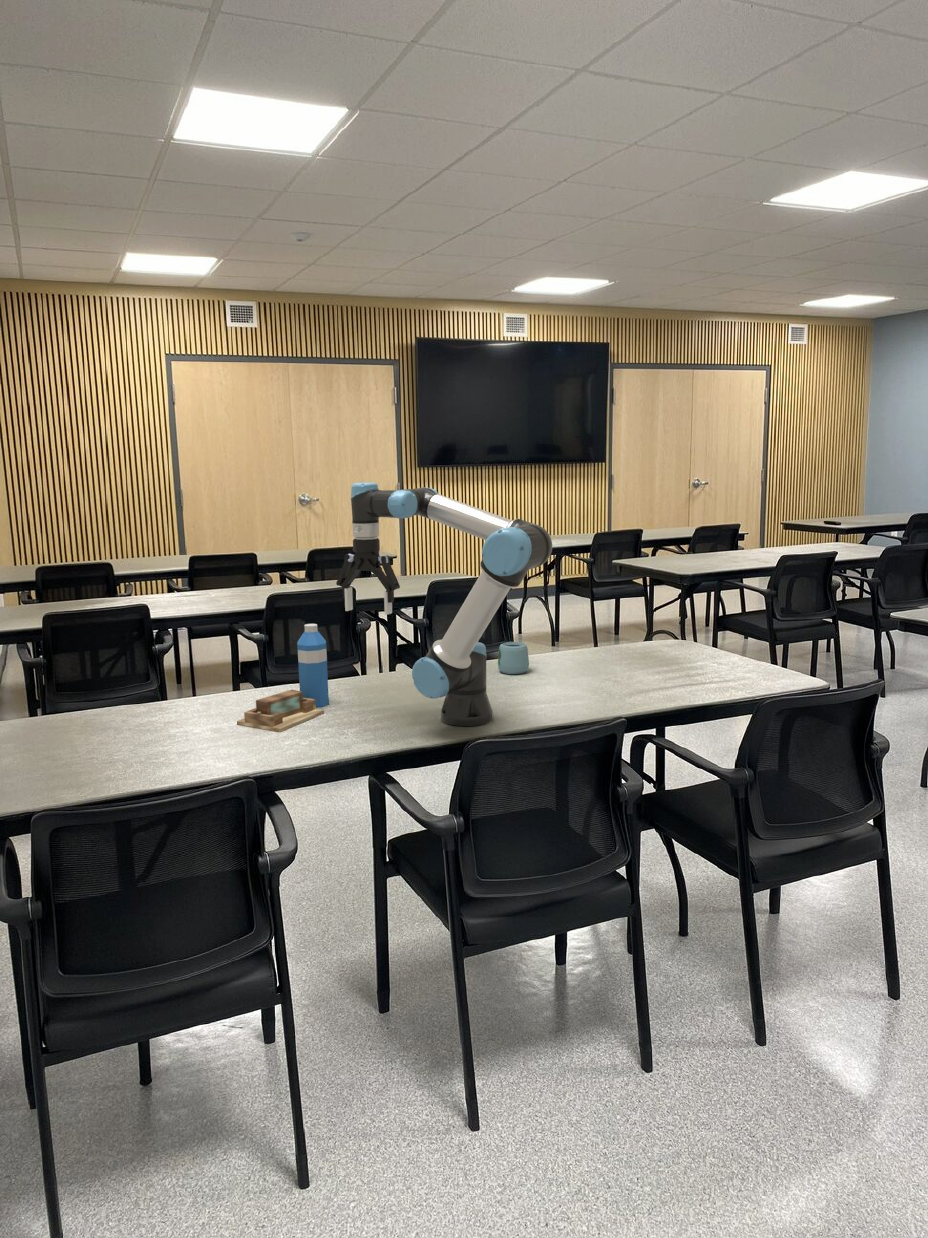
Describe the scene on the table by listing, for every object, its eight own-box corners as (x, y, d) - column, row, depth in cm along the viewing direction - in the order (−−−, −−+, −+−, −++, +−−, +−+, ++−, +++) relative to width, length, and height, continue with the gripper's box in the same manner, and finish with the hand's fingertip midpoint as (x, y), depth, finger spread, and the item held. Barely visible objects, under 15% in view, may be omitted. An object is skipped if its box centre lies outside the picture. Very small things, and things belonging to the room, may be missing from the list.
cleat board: (324, 713, 269) (323, 698, 268) (280, 732, 252) (279, 716, 251) (282, 706, 276) (281, 692, 275) (236, 724, 259) (236, 709, 258)
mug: (494, 666, 324) (493, 639, 322) (524, 664, 325) (524, 637, 324) (500, 676, 310) (500, 648, 308) (531, 675, 311) (531, 646, 309)
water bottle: (323, 708, 274) (319, 628, 269) (294, 707, 275) (290, 627, 271) (333, 700, 283) (330, 622, 278) (305, 699, 284) (302, 621, 280)
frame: (292, 708, 271) (291, 689, 269) (303, 711, 268) (302, 691, 267) (256, 720, 259) (255, 700, 258) (267, 723, 257) (266, 702, 256)
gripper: (322, 537, 256) (325, 610, 260) (396, 540, 244) (398, 617, 248) (338, 535, 262) (340, 606, 266) (410, 538, 250) (412, 613, 254)
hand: (368, 612), depth 257 cm, fingers open, 13 cm apart
